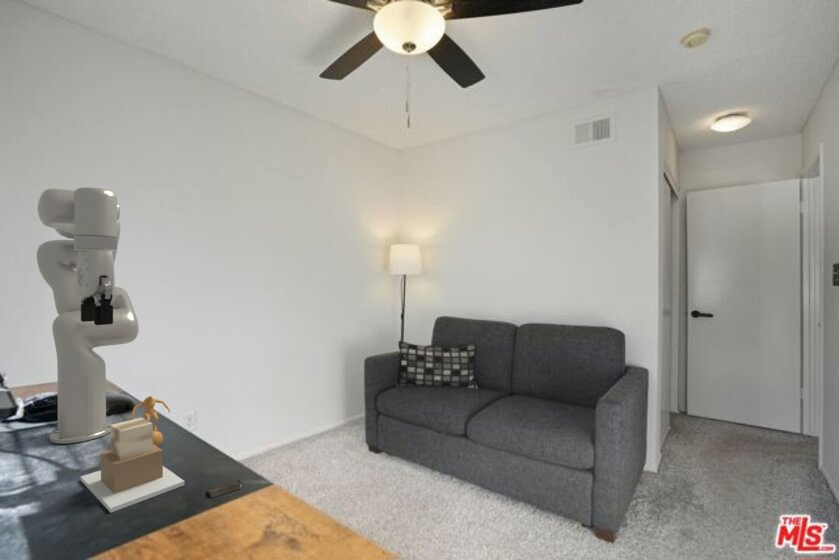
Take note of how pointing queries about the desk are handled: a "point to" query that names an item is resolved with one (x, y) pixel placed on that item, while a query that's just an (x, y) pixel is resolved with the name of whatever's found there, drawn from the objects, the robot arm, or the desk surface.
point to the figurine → (149, 407)
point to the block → (225, 489)
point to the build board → (132, 492)
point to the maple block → (131, 438)
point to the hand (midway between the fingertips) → (96, 322)
